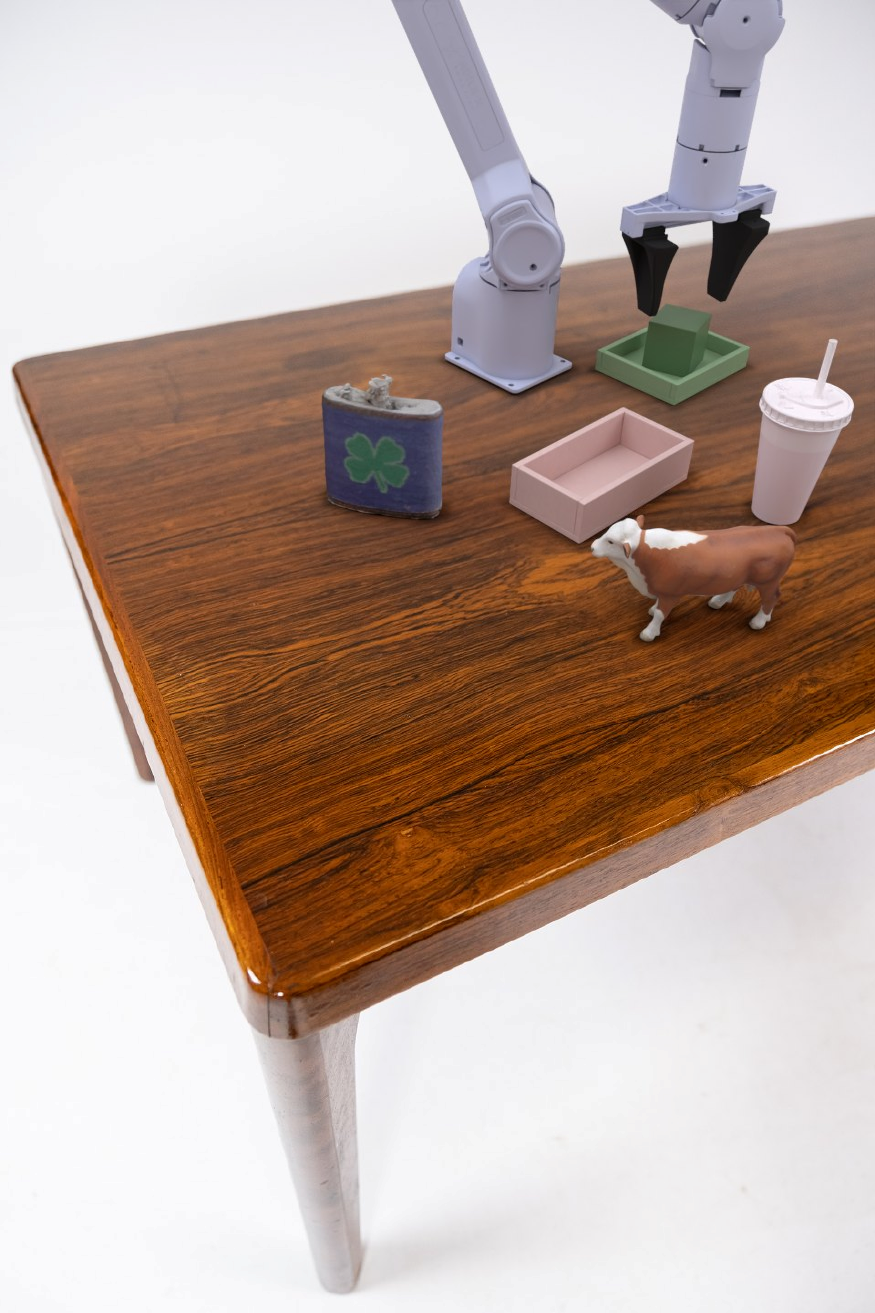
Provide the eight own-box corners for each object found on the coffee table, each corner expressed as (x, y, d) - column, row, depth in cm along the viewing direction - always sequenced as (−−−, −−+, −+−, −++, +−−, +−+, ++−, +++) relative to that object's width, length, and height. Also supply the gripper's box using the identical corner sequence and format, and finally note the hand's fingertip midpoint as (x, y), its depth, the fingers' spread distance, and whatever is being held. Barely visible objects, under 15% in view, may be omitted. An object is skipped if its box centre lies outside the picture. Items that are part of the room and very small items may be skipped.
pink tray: (508, 503, 79) (511, 464, 76) (617, 443, 85) (623, 406, 83) (579, 544, 75) (584, 504, 73) (686, 478, 82) (695, 440, 79)
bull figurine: (577, 604, 70) (591, 505, 64) (767, 595, 71) (797, 497, 65) (590, 646, 67) (605, 546, 61) (788, 637, 68) (821, 537, 62)
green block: (641, 367, 95) (648, 320, 92) (657, 348, 98) (665, 302, 94) (687, 378, 93) (696, 332, 90) (702, 359, 96) (712, 313, 93)
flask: (445, 504, 78) (447, 377, 71) (435, 525, 76) (436, 396, 69) (333, 485, 80) (324, 359, 73) (320, 505, 78) (309, 377, 71)
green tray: (594, 369, 95) (597, 349, 94) (667, 334, 101) (671, 315, 100) (673, 405, 90) (677, 385, 89) (745, 366, 96) (750, 346, 95)
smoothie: (821, 540, 76) (879, 366, 66) (733, 529, 77) (778, 356, 67) (815, 493, 80) (868, 324, 71) (733, 483, 81) (774, 315, 72)
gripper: (666, 168, 77) (639, 337, 86) (814, 145, 82) (774, 307, 91) (615, 141, 82) (595, 304, 91) (759, 121, 87) (726, 278, 96)
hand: (682, 304), depth 91 cm, fingers open, 7 cm apart
